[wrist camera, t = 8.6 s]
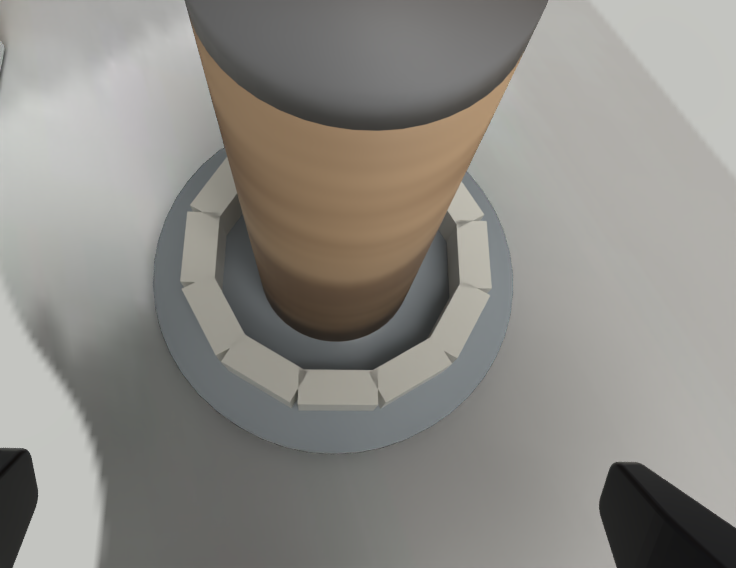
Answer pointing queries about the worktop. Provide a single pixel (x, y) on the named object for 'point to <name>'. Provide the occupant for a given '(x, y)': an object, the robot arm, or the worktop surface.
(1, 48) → the small box
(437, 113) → the brown wooden canister
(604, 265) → the worktop surface
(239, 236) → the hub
